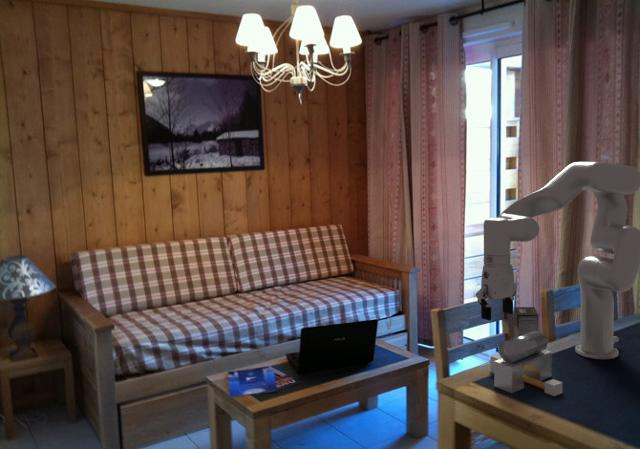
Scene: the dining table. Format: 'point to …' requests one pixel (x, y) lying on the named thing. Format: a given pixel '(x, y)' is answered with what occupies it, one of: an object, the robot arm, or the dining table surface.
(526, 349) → the cylinder
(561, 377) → the dining table surface
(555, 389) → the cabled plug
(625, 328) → the dining table surface
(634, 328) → the dining table surface
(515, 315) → the coffee box
